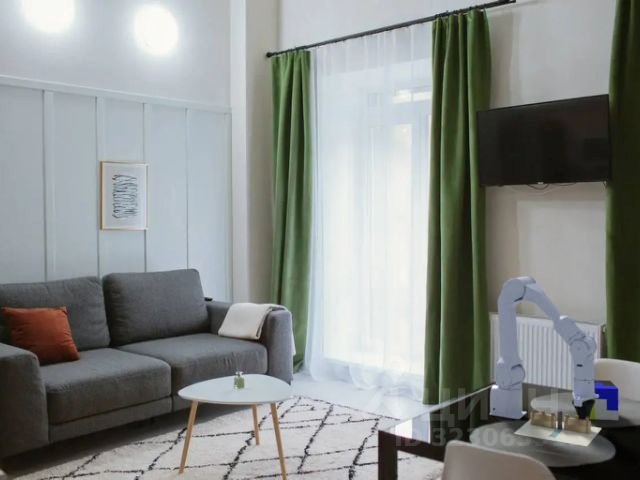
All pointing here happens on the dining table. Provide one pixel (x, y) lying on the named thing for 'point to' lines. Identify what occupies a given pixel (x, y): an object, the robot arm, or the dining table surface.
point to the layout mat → (558, 434)
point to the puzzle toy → (605, 401)
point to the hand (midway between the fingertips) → (583, 424)
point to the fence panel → (577, 424)
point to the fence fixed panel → (546, 419)
